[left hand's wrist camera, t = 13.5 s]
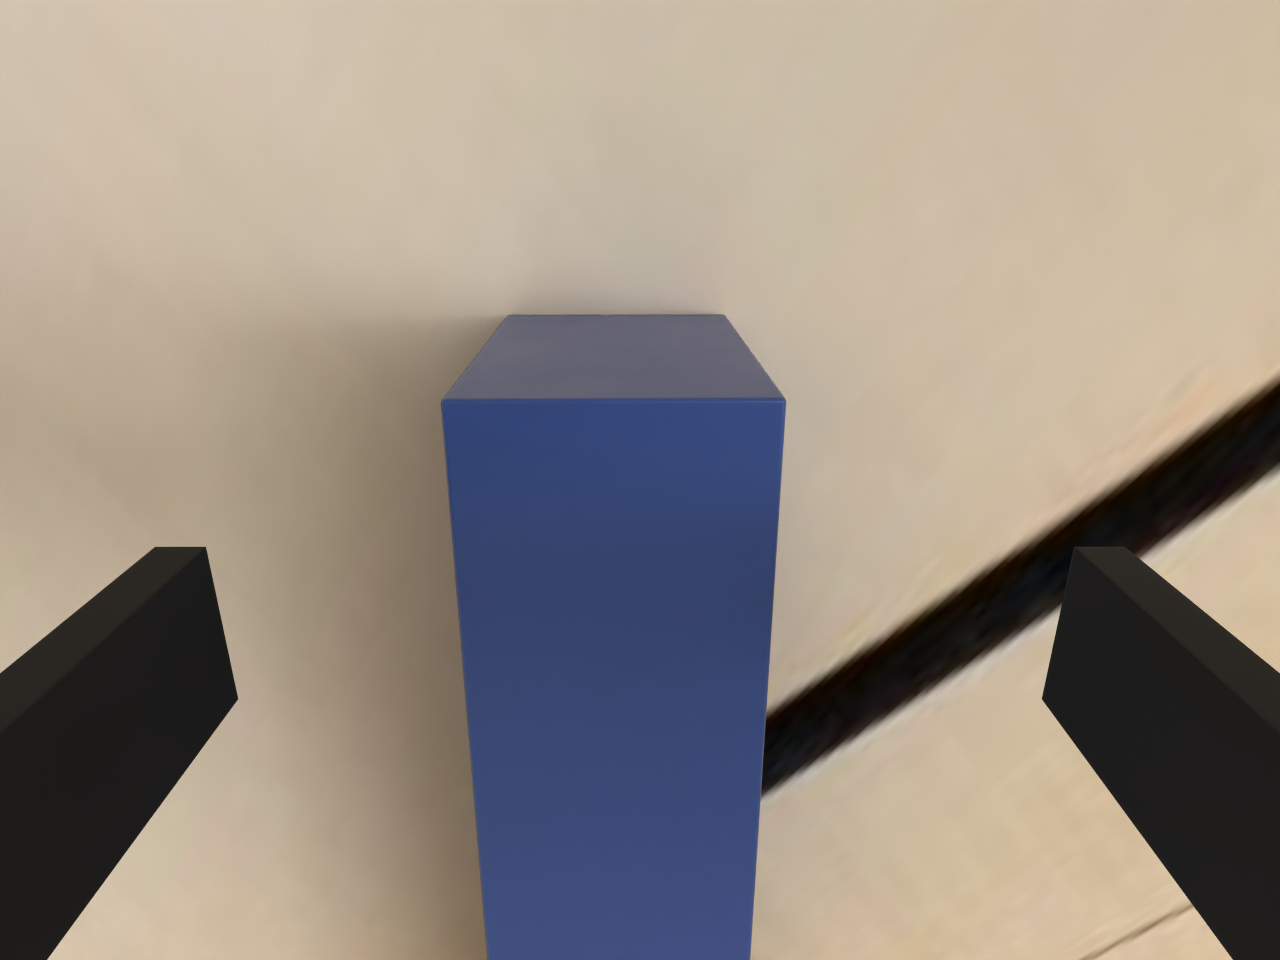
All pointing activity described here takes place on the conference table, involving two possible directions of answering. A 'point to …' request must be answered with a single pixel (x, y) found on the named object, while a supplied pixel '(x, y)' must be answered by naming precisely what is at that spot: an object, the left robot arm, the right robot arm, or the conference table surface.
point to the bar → (615, 629)
